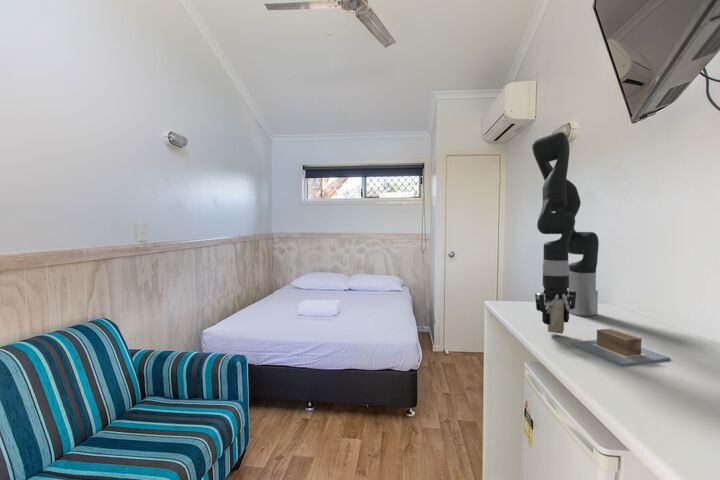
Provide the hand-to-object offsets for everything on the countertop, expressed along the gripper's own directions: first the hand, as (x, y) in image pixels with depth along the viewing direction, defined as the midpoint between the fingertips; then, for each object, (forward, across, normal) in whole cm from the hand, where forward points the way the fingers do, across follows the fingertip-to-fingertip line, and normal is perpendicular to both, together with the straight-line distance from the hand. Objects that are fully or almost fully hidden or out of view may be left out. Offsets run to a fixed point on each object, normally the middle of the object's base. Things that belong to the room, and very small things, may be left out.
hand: (555, 322), depth 109 cm
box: (+3, 0, 0) cm, 3 cm away
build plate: (+4, -6, +16) cm, 18 cm away
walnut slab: (+4, -6, +16) cm, 18 cm away
